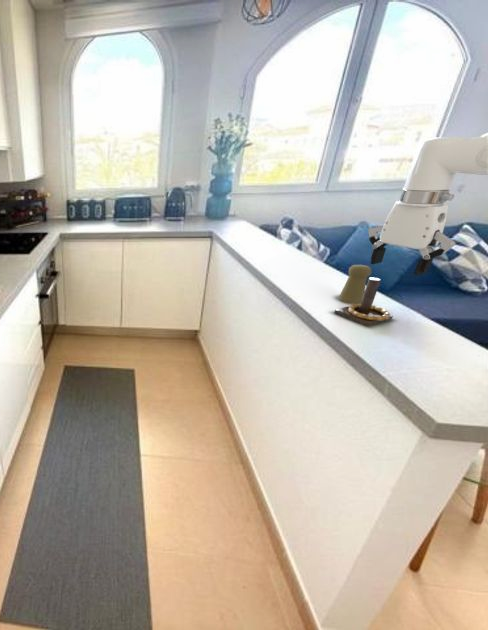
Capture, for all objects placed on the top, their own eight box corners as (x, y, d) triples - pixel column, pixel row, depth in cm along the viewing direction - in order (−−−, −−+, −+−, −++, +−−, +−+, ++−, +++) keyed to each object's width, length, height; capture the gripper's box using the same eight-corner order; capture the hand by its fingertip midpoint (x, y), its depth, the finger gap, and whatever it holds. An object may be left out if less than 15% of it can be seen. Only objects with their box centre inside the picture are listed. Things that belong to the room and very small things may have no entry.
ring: (362, 305, 100) (364, 301, 99) (397, 317, 92) (398, 313, 92) (340, 310, 98) (341, 307, 97) (373, 323, 90) (374, 319, 89)
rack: (357, 307, 101) (369, 271, 96) (391, 319, 93) (406, 281, 89) (334, 313, 99) (345, 276, 94) (367, 326, 91) (381, 287, 86)
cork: (367, 303, 103) (379, 268, 98) (345, 303, 104) (356, 269, 99) (355, 296, 108) (366, 262, 103) (334, 296, 109) (344, 262, 104)
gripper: (483, 199, 72) (450, 276, 80) (391, 192, 87) (370, 257, 95) (460, 203, 70) (427, 281, 78) (370, 195, 85) (350, 261, 93)
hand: (396, 268), depth 86 cm, fingers open, 9 cm apart
